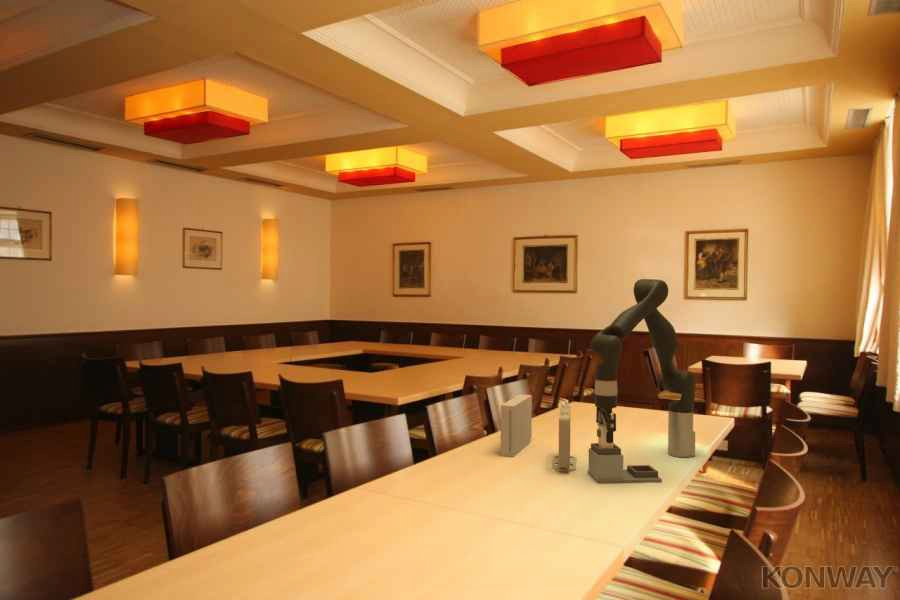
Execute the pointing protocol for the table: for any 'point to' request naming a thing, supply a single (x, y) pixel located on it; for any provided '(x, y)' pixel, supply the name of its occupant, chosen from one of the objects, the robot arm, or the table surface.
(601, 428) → the plug
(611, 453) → the grey stepped block
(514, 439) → the game console
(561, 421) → the network device
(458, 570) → the table surface
